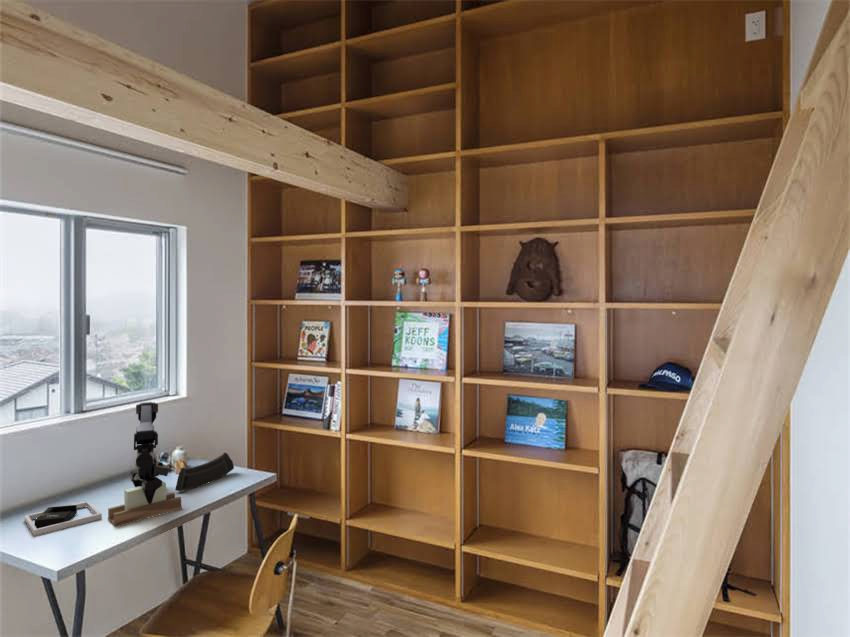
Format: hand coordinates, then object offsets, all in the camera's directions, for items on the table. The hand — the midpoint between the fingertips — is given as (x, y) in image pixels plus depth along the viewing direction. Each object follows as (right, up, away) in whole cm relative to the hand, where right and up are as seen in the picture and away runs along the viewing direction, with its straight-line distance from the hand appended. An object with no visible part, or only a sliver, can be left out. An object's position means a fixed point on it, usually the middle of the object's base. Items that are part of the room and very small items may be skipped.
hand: (145, 500), depth 205 cm
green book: (0, -5, 0) cm, 4 cm away
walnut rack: (0, -6, 0) cm, 6 cm away
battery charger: (-30, -6, -8) cm, 31 cm away
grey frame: (-28, -5, -6) cm, 29 cm away
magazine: (+9, -5, +36) cm, 37 cm away
